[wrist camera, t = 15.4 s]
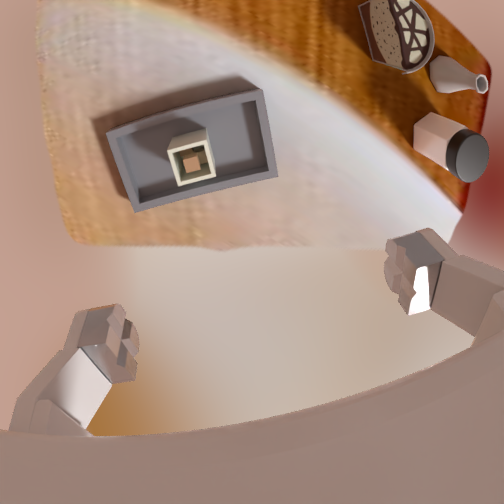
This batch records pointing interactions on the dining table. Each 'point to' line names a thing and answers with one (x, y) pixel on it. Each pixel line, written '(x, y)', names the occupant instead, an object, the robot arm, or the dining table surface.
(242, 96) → the tray
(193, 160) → the cup
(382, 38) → the food container
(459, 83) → the flask
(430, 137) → the jar
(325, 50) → the dining table surface
